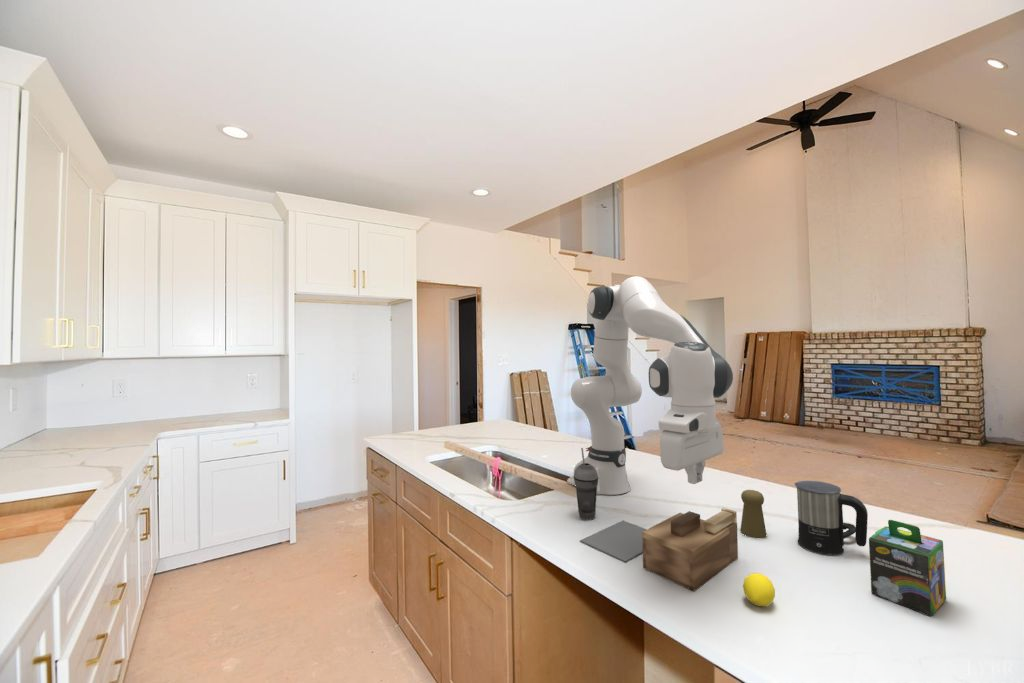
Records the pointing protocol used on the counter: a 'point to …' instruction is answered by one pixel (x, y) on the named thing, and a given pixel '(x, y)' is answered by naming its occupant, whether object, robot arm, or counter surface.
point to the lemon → (759, 589)
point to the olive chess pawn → (753, 514)
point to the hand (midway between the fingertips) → (695, 482)
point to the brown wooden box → (691, 560)
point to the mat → (618, 541)
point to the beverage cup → (586, 489)
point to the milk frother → (827, 518)
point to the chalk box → (907, 567)
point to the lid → (684, 534)
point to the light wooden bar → (720, 520)
